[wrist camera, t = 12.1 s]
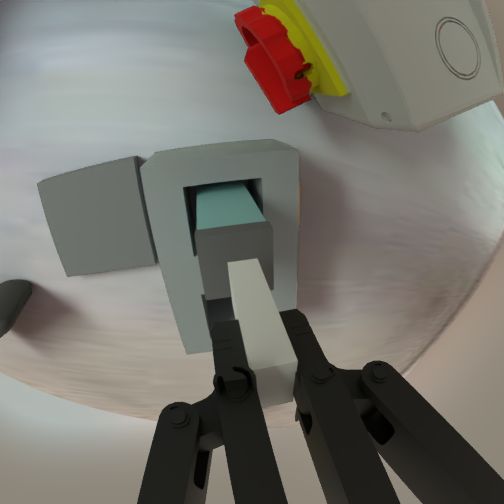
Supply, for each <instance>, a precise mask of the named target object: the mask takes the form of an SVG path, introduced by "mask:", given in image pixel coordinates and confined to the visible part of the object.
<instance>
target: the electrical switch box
mask: <svg viewBox="0 0 504 504" xmlns="http://www.w3.org/2000/svg"><path fill="white" fill-rule="evenodd" d="M254 2H255V3H256V4H257V5H258V7H257V6H252V7H250V8H247V9H245V10H243V11H241V12H239V13H236V14H235V15H234V16H235V23H236V26H237V28H238V30H239V31H240V33H241V35H242V37H243V38H244V41H245V43H246V44H247V46H248V50H247V53H246V56H245V60H244V62H245V64H246V65H247V67H248V68H249V70H250V71H251V73H252V75H253V76H254V78H255V79H256V81H257V82H258V84H259V86H260V87H261V89H262V90H263V92H264V94H265V95H266V97H267V99H268V100H269V102H270V103H271V105H272V107H273V109H274V110H275V112H276V113H278V114H279V115H280V114H282V113H284V112H286V111H288V110H290V109H292V108H294V107H296V106H298V105H301V104H303V103H305V102H307V101H309V100H311V98H310V96H309V93H313V94H314V96H315V98H316V99H317V101H318V103H319V105H320V107H321V108H322V109H323V110H324V111H326V112H330V113H333V114H336V115H339V116H342V117H345V118H348V119H351V120H354V121H357V122H360V123H363V124H365V125H368V126H371V127H373V128H376V129H388V130H401V131H411V132H419V131H421V130H424V129H426V128H428V127H431V126H433V125H435V124H438V123H440V122H442V121H445V120H447V119H449V118H451V117H454V116H456V115H458V114H460V113H463V112H465V111H467V110H470V109H472V108H474V107H477V106H479V105H481V104H484V103H486V102H489V101H491V100H493V99H496V98H498V97H501V96H503V93H504V86H503V77H502V70H501V64H500V58H499V52H498V48H497V42H496V38H495V34H494V30H493V26H492V22H491V19H490V15H489V12H488V9H487V6H486V3H485V0H254Z"/></svg>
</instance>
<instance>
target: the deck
mask: <svg viewBox="0 0 504 504" xmlns="http://www.w3.org/2000/svg"><path fill="white" fill-rule="evenodd" d="M37 186H38V190H39V194H40V198H41V202H42V205H43V209H44V212H45V216H46V219H47V222H48V226H49V229H50V232H51V235H52V238H53V241H54V244H55V246H56V249H57V252H58V255H59V257H60V260H61V262H62V265H63V268H64V270H65V272H66V275H67V277H71V276H78V275H85V274H93V273H100V272H107V271H114V270H121V269H129V268H136V267H143V266H150V265H156V261H157V255H156V251H155V247H154V243H153V238H152V234H151V230H150V225H149V220H148V216H147V211H146V206H145V201H144V196H143V190H142V185H141V179H140V173H139V167H138V161H137V156H133V157H128V158H123V159H119V160H114V161H110V162H105V163H101V164H97V165H93V166H89V167H85V168H82V169H78V170H74V171H71V172H67V173H64V174H61V175H57V176H54V177H51V178H48V179H44V180H42V181H40V182H39V183H37Z"/></svg>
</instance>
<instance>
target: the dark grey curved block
mask: <svg viewBox="0 0 504 504" xmlns="http://www.w3.org/2000/svg"><path fill="white" fill-rule="evenodd" d="M31 294H32V286H31V285H30V284H29V283H28V282H26V281H23V280H9V281H5V282H3V283H1V284H0V338H1V337H2V336H3V335H4V334H6V333H7V332H8V331H9V330H10V329H11V328H12V326H13V324H14V323H15V321H16V319H17V317H18V316H19V314H20V312H21V310H22V309H23V307H24V305H25V304H26V302H27V301H28V299H29V297H30V296H31Z"/></svg>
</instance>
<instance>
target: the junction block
mask: <svg viewBox="0 0 504 504" xmlns="http://www.w3.org/2000/svg"><path fill="white" fill-rule="evenodd" d="M140 173H141V179H142V184H143V190H144V195H145V201H146V206H147V211H148V215H149V220H150V225H151V229H152V234H153V238H154V243H155V247H156V251H157V255H158V259H159V263H160V267H161V271H162V275H163V279H164V282H165V286H166V290H167V293H168V297H169V300H170V304H171V307H172V310H173V314H174V317H175V320H176V323H177V327H178V330H179V333H180V336H181V339H182V342H183V345H184V348H185V351H186V354H195V353H203V352H211V351H213V348H212V338H211V330H212V328H213V326H214V324H215V323H216V322H223V321H230V320H236V319H235V314H234V309H233V304H232V297H226V298H219V299H212V300H206V299H205V293H204V288H203V283H202V277H201V272H200V266H199V261H198V255H197V249H196V243H195V230H197V185H202V184H209V183H217V182H226V181H235V180H242V182H243V184H244V185H245V187H246V189H247V190H248V192H249V193H250V195H251V197H252V198H253V200H254V202H255V203H256V205H257V207H258V208H259V210H260V212H261V213H262V215H263V217H264V218H265V220H266V221H269V222H270V224H271V225H272V227H273V255H274V290H271V291H270V292H271V294H272V297H273V299H274V302H275V304H276V307H277V309H278V312H280V311H286V310H291V309H296V302H297V284H298V282H297V264H298V234H299V227H300V183H299V150H297V149H295V148H293V147H290V146H288V145H286V144H283V143H281V142H279V141H276V140H274V139H266V140H250V141H238V142H227V143H217V144H208V145H200V146H192V147H185V148H178V149H172V150H166V151H160V152H155V153H154V154H153V155H152V156H151V157H150V158H149V159H148V160H147V161H146V162H145V163H144V164H143V165H142V166H141V167H140Z"/></svg>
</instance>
